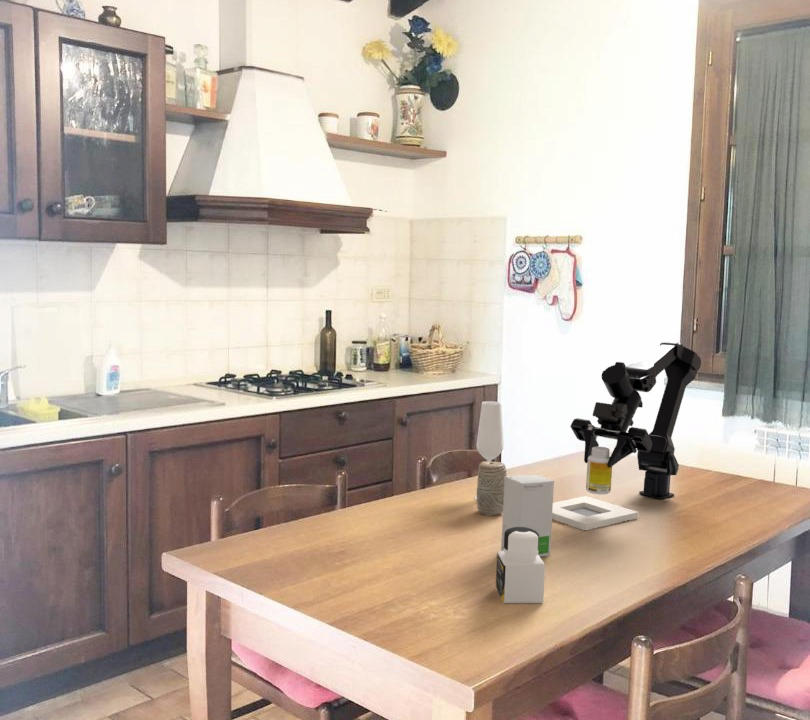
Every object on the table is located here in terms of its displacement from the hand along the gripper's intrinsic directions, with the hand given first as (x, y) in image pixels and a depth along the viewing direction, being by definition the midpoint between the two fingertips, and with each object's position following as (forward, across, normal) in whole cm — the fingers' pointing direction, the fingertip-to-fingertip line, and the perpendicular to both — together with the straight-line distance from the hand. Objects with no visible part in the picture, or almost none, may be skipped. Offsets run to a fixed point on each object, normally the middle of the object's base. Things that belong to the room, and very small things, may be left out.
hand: (596, 464), depth 200 cm
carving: (+18, -20, 0) cm, 27 cm away
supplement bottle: (+4, 0, +6) cm, 7 cm away
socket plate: (+8, -3, +11) cm, 14 cm away
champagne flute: (+12, -28, +7) cm, 31 cm away
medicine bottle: (+45, +14, -27) cm, 54 cm away
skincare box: (+31, +2, -13) cm, 34 cm away
